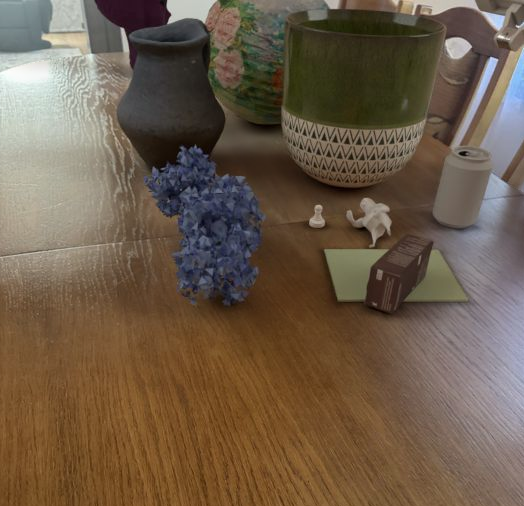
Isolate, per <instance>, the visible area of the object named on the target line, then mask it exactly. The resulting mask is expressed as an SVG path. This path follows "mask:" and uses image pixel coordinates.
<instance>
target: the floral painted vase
mask: <svg viewBox="0 0 524 506" xmlns="http://www.w3.org/2000/svg"><path fill="white" fill-rule="evenodd" d="M317 9H331V7H330V6H329V4H328V3H327V2H326V1H325V0H216V1H214V3H213V4H211V7H210V8H209V10H208V13H207V16H206V17H205V21H204V22H203V23H204V24H205V25H206V26H207V29H208V32H209V36H210V46H211V55H210V65H209V71H208V75H207V76H208V79H209V81H210V84H211V86H212V89H213V92H214V94H215V97H216V99H217V101H218V102H219V103H220V104H221V105H223V107H225V108H226V109H228V110H229V111H230V112H231V113H232V114H234V115H236V116H238V117H240V118H241V119H243V120H245V121H248V122H250V123H253V124H257V125H282V121H281V108H282V75H283V41H284V23H285V17H286V16H287V15H289V14H291V13H294V12H299V11H306V10H317Z"/></svg>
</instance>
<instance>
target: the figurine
mask: <svg viewBox="0 0 524 506" xmlns="http://www.w3.org/2000/svg"><path fill="white" fill-rule="evenodd" d="M359 207H360V209H361V210H362V211H363V213H364V217H360V218H358V219H357V220H355V218H354V216H353V215H354V214H353V212H352V210H351V209H350V210H347V211H346V214H345V215H346V216H345V217H346V219H347V220H348V221H349V222H350V224H351V225H352V226H353V228H355V229H356V228H357V229H361V228H366V230H367V231H369V233H370V234H371V238H372V244H369V245H368V247H369V248H368V249H373V248H375V246H376V245H375V244H376V241H377V240H378V239H379V238H380V237H382V236H383V235H384V234H385V232H386V233H387V235H388V236H389V237H390V236H391V235H392V234H391V226H392V223H393V221H392V219H391V218H390V217H389V215H388V214H387V213H389V212H391V208H390V207H389V205H386V204H384V203H382V202H379V203H376V202H375V201H374V200H373V199H372V198H369V197H364V198H362V199H361V201H360V203H359Z"/></svg>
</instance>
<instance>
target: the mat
mask: <svg viewBox="0 0 524 506" xmlns="http://www.w3.org/2000/svg"><path fill="white" fill-rule="evenodd" d="M389 249H390V248H389ZM389 249H388V248H384V249H382V248H381V249H378V248H377V249H373V248H367V249H365V248H324V249H323V253H324V256H325V259H326V260H325V261H326V263H327V267H328V271H329V275H330V278H331V281H332V285H333V290H334V292H335V296H336V299H337V302H338V303H358V302H359V303H365V298H366V292H367V290H366V288H367V283H368V281H369V275H370V269H371V266H372V265H373V264H374V263H375V262H376V261H377V260H378V259H379V258H381V257H382V256H383V255H384V254H385V253H386V252H387V251H388V250H389ZM412 302H414V303H420V302H421V303H424V302H425V303H429V302H431V303H434V302H435V303H443V302H444V303H448V302H449V303H453V302H454V303H456V302H457V303H464V302H465V303H467V302H469V298H468V296H467V295H466V293H465V291H464V290H463V288H462V286H461V284H460V282H458V279H457V278H456V276H455V275H454V273H453V271H452V269H451V268H450V266H449V265H448V263H447V262H446V260H445V258H444V256H443V255H442V253H441V251H440V250H439V249H432V250H431V254H430V258H429V262H428V267H427V271H426V276H425V277H424V279H423V280H422V281H421V282H420V283H419V284H418V285H417V287H416V288H415V289H414V290H413V291H412V292H411V293H410V294H409V295H408V296H407V298H406V299H405V300H404V301H403V302H402V303H412Z"/></svg>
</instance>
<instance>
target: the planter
mask: <svg viewBox="0 0 524 506" xmlns="http://www.w3.org/2000/svg"><path fill="white" fill-rule="evenodd" d="M447 29H448V28H447V26H446V24H444V23H443V22H441V21H438V20H436V19H432V18H429V17H425V16H420V15H415V14H410V13H403V12H395V11H388V10H377V9H361V8H360V9H358V8H330V9H317V10H306V11H299V12H294V13H291V14H289V15H287V16H286V17H285V23H284V41H283V75H282V108H281V121H282V123H281V130H282V136H283V140H284V144H285V147H286V150H287V152H288V155H290V157H291V159H292V160H293V161H294V163H296V165H297V166H298V167H299V168H300V169H301V170H302V171H303V172H304V173H305V174H306V175H308V176H309V177H310V178H313V179H314V180H316V181H317V182H320V183H323V184H326V185H329V186H333V187H338V188H349V189H350V188H352V189H355V188H356V189H357V188H365V187H370V186H373V185H376V184H379V183H381V182H383V181H386V180H388V179H389V178H391V177H393V176H394V175H396V174H397V173H398V172H400V171H401V170H402V169H403V168H405V166H406V165H407V164H408V163H409V162H410V161H411V159H412V157H414V155H415V152H416V151H417V149H418V147H419V145H420V142H421V140H422V137H423V134H424V131H425V128H426V124H427V119H428V115H429V110H430V106H431V103H432V99H433V93H434V88H435V84H436V80H437V75H438V70H439V66H440V61H441V58H442V53H443V50H444V44H445V40H446V33H447Z"/></svg>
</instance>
